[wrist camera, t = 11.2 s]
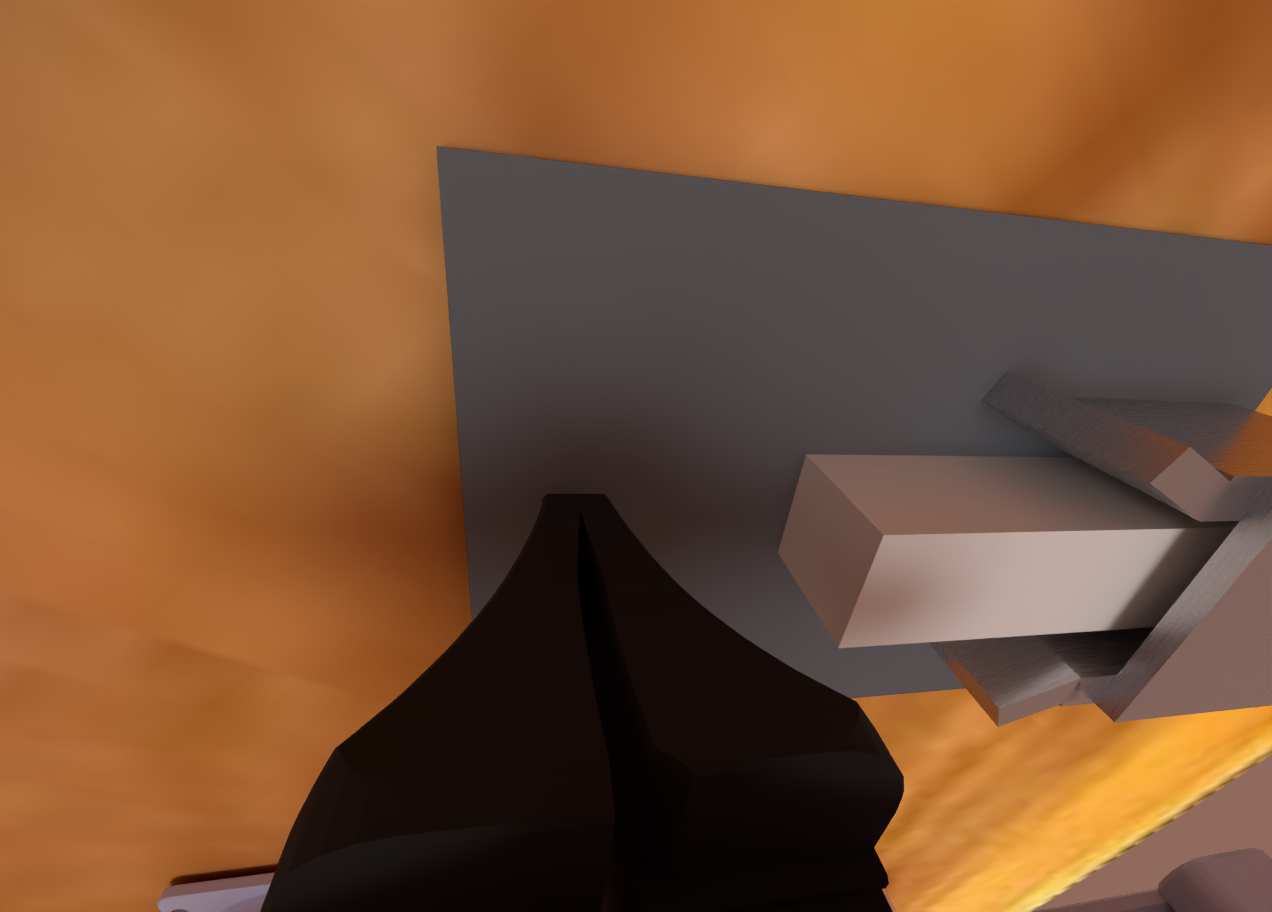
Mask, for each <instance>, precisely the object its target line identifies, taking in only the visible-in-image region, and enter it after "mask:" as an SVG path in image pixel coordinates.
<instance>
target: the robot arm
mask: <svg viewBox="0 0 1272 912" xmlns="http://www.w3.org/2000/svg"><path fill="white" fill-rule="evenodd" d="M903 792H904V776H903V775H902V773H901V771H900V770H899V768H898V766H897V765H896V763H895V761H894V760H893V758H892V756H891V755H890V753H889V751H888V749H887V748H886V746H885V744H884V742H883V741H882V739H881V737H880V736H879V734H878V732H877V730H876V729H875V727H874V726H873V725H872V723H871V722H870V720H869V719H868V717H867V716H866V715H865V713H864V712H863V710H862V709H861V707H860V706H859V704H858V703H857V702H856V701H854V700H852V699H850V698H848V697H846V696H844V695H843V694H841V693H839V692H837V691H835V690H833V689H831V688H829V687H827V686H825V685H824V684H822V683H820V682H818V681H816V680H814V679H812V678H810V677H808V676H806V675H804V674H803V673H801V672H799V671H797V670H795V669H794V668H792V667H790V666H789V665H787V664H785V663H784V662H782V661H781V660H779V659H777V658H776V657H774V656H772V655H771V654H769V653H767V652H766V651H764V650H763V649H761V648H760V647H758V646H757V645H755V644H754V643H752V642H751V641H749V640H748V639H746V638H745V637H743V636H742V635H740V634H739V633H738V632H736V631H735V630H734V629H732V628H731V627H730V626H728V625H727V624H725V623H724V622H723V621H721V620H720V619H719V618H717V617H716V616H715V615H713V614H712V613H711V612H710V611H708V610H707V609H706V608H705V607H704V606H702V605H701V604H700V603H699V602H698V601H697V600H695V599H694V598H693V597H692V596H691V595H690V594H689V593H688V592H686V591H685V590H684V589H683V588H682V587H681V586H680V585H679V584H678V583H677V582H676V581H675V580H674V579H673V578H672V577H671V576H670V575H669V574H668V573H667V572H666V571H665V570H664V569H663V568H662V567H661V565H660V564H659V563H658V562H657V561H656V560H655V559H654V558H653V557H652V555H651V554H650V553H649V552H648V551H647V549H646V548H645V547H644V546H643V545H642V543H641V542H640V541H639V540H638V539H637V537H636V536H635V535H634V533H633V532H632V531H631V530H630V528H629V527H628V526H627V524H626V523H625V521H624V520H623V519H622V517H621V516H620V514H619V513H618V512H617V510H616V509H615V507H614V506H613V504H612V503H611V501H610V499H609V498H608V497H607V496H606V495H605V494H547V495H546V496H545V497H543V498H542V505H541V509H540V512H539V515H538V518H537V520H536V522H535V525H534V527H533V529H532V531H531V533H530V535H529V537H528V539H527V541H526V543H525V545H524V547H523V549H522V551H521V553H520V554H519V556H518V558H517V559H516V561H515V563H514V564H513V566H512V567H511V569H510V571H509V572H508V574H507V576H506V577H505V579H504V580H503V582H502V583H501V585H500V586H499V587H498V589H497V590H496V592H495V593H494V595H493V596H492V597H491V599H490V600H489V601H488V602H487V604H486V605H485V606H484V608H483V609H482V610H481V612H480V613H479V614H478V615H477V616H476V618H475V619H474V620H473V621H472V622H471V623H470V625H469V626H468V627H467V628H466V629H465V630H464V632H463V633H462V634H461V635H460V636H459V637H458V639H457V640H456V641H455V642H454V643H453V644H452V645H451V646H450V647H449V648H448V649H447V650H446V651H445V652H444V653H443V654H442V655H441V656H440V657H439V658H438V659H437V660H436V661H435V662H434V663H433V664H432V665H431V666H430V667H429V668H428V669H427V670H426V671H425V672H424V673H423V674H422V675H421V676H420V677H419V678H418V679H417V680H416V681H414V682H413V683H412V684H411V685H410V686H409V687H408V688H407V689H406V690H405V691H404V692H403V693H402V694H401V695H399V696H398V697H397V698H396V699H395V700H394V701H393V702H391V703H390V704H389V705H388V706H387V707H385V708H384V709H383V710H382V711H381V712H379V713H378V714H377V715H376V716H374V717H373V718H372V719H371V720H370V721H368V722H367V723H366V724H365V725H364V726H362V727H361V728H360V729H359V730H358V731H356V732H355V733H354V734H353V735H351V736H350V737H349V738H348V739H347V740H345V741H344V742H343V743H341V744H340V745H339V746H338V747H336V748H335V750H334V751H333V753H332V755H331V756H330V758H329V759H328V761H327V763H326V765H325V766H324V768H323V770H322V772H321V773H320V775H319V777H318V778H317V780H316V782H315V784H314V786H313V788H312V790H311V792H310V793H309V795H308V797H307V799H306V801H305V803H304V805H303V807H302V809H301V811H300V812H299V814H298V817H297V819H296V821H295V823H294V825H293V827H292V829H291V831H290V834H289V836H288V839H287V842H286V844H285V847H284V849H283V852H282V855H281V857H280V860H279V863H278V865H277V868H276V871H275V872H273V873H266V874H258V875H250V876H242V877H234V878H226V879H219V880H211V881H203V882H195V883H187V884H179V885H174V886H171V887H169V888H167V889H165V891H164V892H163V894H162V895H161V897H160V899H159V901H158V903H157V905H158V908H159V910H160V911H161V912H893V911H892V909H891V907H890V905H889V903H888V901H887V899H886V897H885V895H884V892H883V890H882V889H884V888H886V887H887V885H888V884H889V882H888V876H887V873H886V871H885V869H884V867H883V865H882V863H881V861H880V859H879V857H878V855H877V853H876V851H875V849H874V847H875V845H876V843H877V842H878V840H879V839H880V837H881V835H882V834H883V832H884V831H885V829H886V827H887V826H888V824H889V822H890V821H891V819H892V818H893V816H894V814H895V813H896V811H897V808H898V806H899V804H900V801H901V799H902V796H903ZM1035 912H1272V859H1271V858H1270V857H1269V856H1268V855H1267V854H1266V853H1265V852H1264V851H1262V850H1258V849H1255V848H1248V849H1243V850H1237V851H1231V852H1226V853H1220V854H1214V855H1208V856H1203V857H1200V858H1196V859H1193V860H1191V861H1189V862H1186V863H1184V864H1182V865H1181V866H1179V867H1178V868H1176V869H1175V870H1173V871H1172V872H1171V873H1169V874H1168V875H1167V876H1166V877H1165V878H1164V879H1163V880H1162V881H1161V882H1160V883H1159V887H1158V889H1153V890H1148V891H1143V892H1137V893H1132V894H1126V895H1121V896H1115V897H1110V898H1105V899H1099V900H1094V901H1088V902H1084V903H1078V904H1072V905H1067V906H1062V907H1056V908H1051V909H1046V910H1040V911H1035Z"/></svg>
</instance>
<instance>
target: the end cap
mask: <svg viewBox="0 0 1272 912" xmlns="http://www.w3.org/2000/svg"><path fill="white" fill-rule="evenodd" d="M982 400H983V401H984V402H986V403H987V404H988V405H990V406H991V407H993V408H994V409H996V410H997V411H998V412H1000V413H1001V414H1003V415H1004V416H1005V417H1007V418H1008V419H1010V420H1011V421H1013V422H1014V423H1015V424H1017V425H1018V426H1020V427H1021V428H1022V429H1024V430H1025V431H1027V432H1028V433H1030V434H1032V435H1034V436H1036V437H1038V438H1040V439H1042V440H1044V441H1045V442H1047V443H1049V444H1051V445H1053V446H1055V447H1057V448H1059V449H1061V450H1063V451H1065V452H1067V453H1069V454H1071V455H1072V456H1074V457H1076V458H1078V459H1080V460H1082V461H1084V462H1086V463H1088V464H1090V465H1092V466H1094V467H1096V468H1098V469H1100V470H1101V471H1103V472H1105V473H1107V474H1109V475H1111V476H1113V477H1115V478H1117V479H1119V480H1121V481H1123V482H1125V483H1127V484H1128V485H1130V486H1132V487H1134V488H1136V489H1138V490H1140V491H1142V492H1144V493H1146V494H1148V495H1150V496H1152V497H1154V498H1156V499H1157V500H1159V501H1161V502H1163V503H1165V504H1167V505H1169V506H1171V507H1173V508H1175V509H1177V510H1179V511H1181V512H1183V513H1184V514H1186V515H1188V516H1190V517H1192V518H1194V519H1196V520H1198V521H1200V522H1207V521H1240V522H1239V523H1238V524H1237V526H1236V527H1235V528H1234V529H1233V531H1232V532H1231V533H1230V534H1229V536H1228V537H1227V538H1226V539H1225V541H1224V542H1223V543H1222V544H1221V546H1220V547H1219V548H1218V549H1217V551H1216V552H1215V553H1214V554H1213V556H1212V557H1211V558H1210V559H1209V561H1208V562H1207V563H1206V564H1205V566H1204V567H1203V568H1202V569H1201V571H1200V572H1199V573H1198V574H1197V576H1196V577H1195V578H1194V579H1193V581H1192V582H1191V583H1190V584H1189V586H1188V587H1187V588H1186V589H1185V591H1184V592H1183V593H1182V594H1181V596H1180V597H1179V598H1178V599H1177V601H1176V602H1175V603H1174V604H1173V606H1172V607H1171V608H1170V609H1169V611H1168V612H1167V613H1166V614H1165V616H1164V617H1163V618H1162V619H1161V621H1160V622H1159V623H1158V624H1157V626H1156V627H1148V628H1133V629H1118V630H1103V631H1089V632H1074V633H1059V634H1044V635H1029V636H1014V637H1000V638H985V639H970V640H955V641H940V642H928V643H929V645H930V646H931V647H932V648H933V649H934V651H935V652H936V653H937V654H938V655H939V657H940V658H941V659H942V660H943V661H944V663H945V664H946V665H947V666H948V667H949V669H950V670H951V671H952V672H953V673H954V675H955V676H956V677H957V678H958V679H959V681H960V682H961V683H962V684H963V685H964V687H965V688H966V689H967V690H968V691H969V693H970V694H971V695H972V696H973V697H974V699H975V700H976V701H977V702H978V703H979V705H980V706H981V707H982V708H983V709H984V711H985V712H986V713H987V714H988V715H989V717H990V718H991V719H992V720H993V721H994V723H995V724H996V725H997V726H998V727H999V726H1002V725H1004V724H1007V723H1010V722H1013V721H1015V720H1018V719H1021V718H1024V717H1026V716H1029V715H1032V714H1035V713H1037V712H1040V711H1043V710H1046V709H1048V708H1051V707H1054V706H1057V705H1060V706H1069V705H1080V704H1090V703H1095V704H1096V705H1097V706H1098V707H1099V708H1100V709H1101V710H1102V711H1103V712H1104V713H1105V714H1107V715H1108V716H1109V717H1110V718H1111V719H1112V720H1113V721H1114V722H1122V721H1131V720H1140V719H1149V718H1159V717H1168V716H1177V715H1186V714H1196V713H1205V712H1214V711H1223V710H1233V709H1242V708H1251V707H1260V706H1270V705H1272V416H1269V415H1266V414H1263V413H1259V412H1256V411H1253V410H1250V409H1247V408H1244V407H1241V406H1238V405H1235V404H1232V403H1207V402H1182V401H1157V400H1132V399H1106V398H1081V397H1067V396H1065V395H1062V394H1060V393H1058V392H1055V391H1053V390H1050V389H1048V388H1045V387H1043V386H1041V385H1038V384H1036V383H1033V382H1031V381H1028V380H1026V379H1023V378H1021V377H1019V376H1016V375H1014V374H1011V373H1009V372H1006V373H1005V374H1004V375H1003V376H1002V377H1001V378H1000V379H999V381H998V382H997V383H996V384H995V385H994V386H993V387H992V388H991V390H990V391H989V392H988V393H987V394H986V395H985V396H984V397H983V399H982Z"/></svg>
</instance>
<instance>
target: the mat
mask: <svg viewBox="0 0 1272 912" xmlns="http://www.w3.org/2000/svg"><path fill="white" fill-rule="evenodd" d="M437 159H438V173H439V186H440V199H441V213H442V226H443V239H444V252H445V266H446V279H447V292H448V306H449V319H450V332H451V346H452V359H453V372H454V386H455V399H456V412H457V426H458V439H459V452H460V465H461V479H462V492H463V505H464V519H465V532H466V545H467V559H468V572H469V585H470V599H471V612H472V621H473V620H474V619H475V618H476V616H477V615H478V614H479V613H480V612H481V610H482V609H483V608H484V606H485V605H486V604H487V602H488V601H489V600H490V599H491V597H492V596H493V595H494V593H495V592H496V590H497V589H498V587H499V586H500V585H501V583H502V582H503V580H504V579H505V577H506V576H507V574H508V572H509V571H510V569H511V567H512V566H513V564H514V563H515V561H516V559H517V558H518V556H519V554H520V553H521V551H522V549H523V547H524V545H525V543H526V541H527V539H528V537H529V535H530V533H531V531H532V529H533V527H534V525H535V522H536V520H537V518H538V515H539V512H540V509H541V505H542V498H543V497H545V496H546V495H547V494H605V495H606V496H607V497H608V498H609V499H610V501H611V503H612V504H613V506H614V507H615V509H616V510H617V512H618V513H619V514H620V516H621V517H622V519H623V520H624V521H625V523H626V524H627V526H628V527H629V528H630V530H631V531H632V532H633V533H634V535H635V536H636V537H637V539H638V540H639V541H640V542H641V543H642V545H643V546H644V547H645V548H646V549H647V551H648V552H649V553H650V554H651V555H652V557H653V558H654V559H655V560H656V561H657V562H658V563H659V564H660V565H661V567H662V568H663V569H664V570H665V571H666V572H667V573H668V574H669V575H670V576H671V577H672V578H673V579H674V580H675V581H676V582H677V583H678V584H679V585H680V586H681V587H682V588H683V589H684V590H685V591H686V592H688V593H689V594H690V595H691V596H692V597H693V598H694V599H695V600H697V601H698V602H699V603H700V604H701V605H702V606H704V607H705V608H706V609H707V610H708V611H710V612H711V613H712V614H713V615H715V616H716V617H717V618H719V619H720V620H721V621H723V622H724V623H725V624H727V625H728V626H730V627H731V628H732V629H734V630H735V631H736V632H738V633H739V634H740V635H742V636H743V637H745V638H746V639H748V640H749V641H751V642H752V643H754V644H755V645H757V646H758V647H760V648H761V649H763V650H764V651H766V652H767V653H769V654H771V655H772V656H774V657H776V658H777V659H779V660H781V661H782V662H784V663H785V664H787V665H789V666H790V667H792V668H794V669H795V670H797V671H799V672H801V673H803V674H804V675H806V676H808V677H810V678H812V679H814V680H816V681H818V682H820V683H822V684H824V685H825V686H827V687H829V688H831V689H833V690H835V691H837V692H839V693H841V694H843V695H844V696H846V697H848V698H858V697H870V696H881V695H893V694H904V693H916V692H927V691H939V690H950V689H962V688H965V687H964V685H963V684H962V683H961V682H960V681H959V679H958V678H957V677H956V676H955V675H954V673H953V672H952V671H951V670H950V669H949V667H948V666H947V665H946V664H945V663H944V661H943V660H942V659H941V658H940V657H939V655H938V654H937V653H936V652H935V651H934V649H933V648H932V647H931V646H930V645H929V643H928V642H925V643H911V644H896V645H881V646H866V647H851V648H838V647H837V646H836V644H835V643H834V641H833V639H832V638H831V636H830V635H829V633H828V631H827V630H826V628H825V627H824V625H823V623H822V622H821V620H820V619H819V617H818V615H817V614H816V612H815V611H814V609H813V608H812V606H811V604H810V603H809V601H808V600H807V598H806V596H805V595H804V593H803V592H802V590H801V588H800V587H799V585H798V584H797V582H796V581H795V579H794V577H793V576H792V574H791V573H790V571H789V569H788V568H787V566H786V565H785V563H784V561H783V560H782V558H781V557H780V555H779V553H778V551H779V547H780V544H781V540H782V537H783V533H784V530H785V526H786V523H787V519H788V516H789V512H790V509H791V505H792V502H793V498H794V495H795V491H796V488H797V484H798V481H799V477H800V474H801V470H802V467H803V463H804V460H805V456H806V454H825V455H917V456H1010V457H1074V456H1072V455H1071V454H1069V453H1067V452H1065V451H1063V450H1061V449H1059V448H1057V447H1055V446H1053V445H1051V444H1049V443H1047V442H1045V441H1044V440H1042V439H1040V438H1038V437H1036V436H1034V435H1032V434H1030V433H1028V432H1027V431H1025V430H1024V429H1022V428H1021V427H1020V426H1018V425H1017V424H1015V423H1014V422H1013V421H1011V420H1010V419H1008V418H1007V417H1005V416H1004V415H1003V414H1001V413H1000V412H998V411H997V410H996V409H994V408H993V407H991V406H990V405H988V404H987V403H986V402H984V401H983V400H982V399H983V397H984V396H985V395H986V394H987V393H988V392H989V391H990V390H991V388H992V387H993V386H994V385H995V384H996V383H997V382H998V381H999V379H1000V378H1001V377H1002V376H1003V375H1004V374H1005V373H1006V372H1009V373H1011V374H1014V375H1016V376H1019V377H1021V378H1023V379H1026V380H1028V381H1031V382H1033V383H1036V384H1038V385H1041V386H1043V387H1045V388H1048V389H1050V390H1053V391H1055V392H1058V393H1060V394H1062V395H1065V396H1067V397H1081V398H1106V399H1132V400H1157V401H1182V402H1207V403H1232V404H1235V405H1238V406H1241V407H1244V408H1247V409H1250V410H1253V411H1255V410H1256V409H1257V407H1258V406H1259V404H1260V403H1261V402H1262V400H1263V399H1264V398H1265V396H1266V395H1267V393H1268V392H1269V391H1270V389H1271V388H1272V245H1264V244H1256V243H1247V242H1239V241H1231V240H1222V239H1214V238H1205V237H1197V236H1188V235H1180V234H1172V233H1163V232H1155V231H1146V230H1138V229H1129V228H1121V227H1113V226H1104V225H1096V224H1087V223H1079V222H1070V221H1062V220H1054V219H1045V218H1037V217H1028V216H1020V215H1011V214H1003V213H994V212H986V211H978V210H969V209H961V208H952V207H944V206H935V205H927V204H919V203H910V202H902V201H893V200H885V199H876V198H868V197H860V196H851V195H843V194H834V193H826V192H817V191H809V190H801V189H792V188H784V187H775V186H767V185H758V184H750V183H742V182H733V181H725V180H716V179H708V178H699V177H691V176H683V175H674V174H666V173H657V172H649V171H640V170H632V169H624V168H615V167H607V166H598V165H590V164H581V163H573V162H564V161H556V160H548V159H539V158H531V157H522V156H514V155H505V154H497V153H489V152H480V151H472V150H463V149H455V148H446V147H438V146H437Z"/></svg>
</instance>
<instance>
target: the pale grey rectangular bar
mask: <svg viewBox="0 0 1272 912" xmlns="http://www.w3.org/2000/svg"><path fill="white" fill-rule="evenodd" d="M1239 522H1240V521H1207V522H1200V521H1198V520H1196V519H1194V518H1192V517H1190V516H1188V515H1186V514H1184V513H1183V512H1181V511H1179V510H1177V509H1175V508H1173V507H1171V506H1169V505H1167V504H1165V503H1163V502H1161V501H1159V500H1157V499H1156V498H1154V497H1152V496H1150V495H1148V494H1146V493H1144V492H1142V491H1140V490H1138V489H1136V488H1134V487H1132V486H1130V485H1128V484H1127V483H1125V482H1123V481H1121V480H1119V479H1117V478H1115V477H1113V476H1111V475H1109V474H1107V473H1105V472H1103V471H1101V470H1100V469H1098V468H1096V467H1094V466H1092V465H1090V464H1088V463H1086V462H1084V461H1082V460H1080V459H1078V458H1076V457H1010V456H917V455H825V454H806V456H805V460H804V463H803V467H802V470H801V474H800V477H799V481H798V484H797V488H796V491H795V495H794V498H793V502H792V505H791V509H790V512H789V516H788V519H787V523H786V526H785V530H784V533H783V537H782V540H781V544H780V547H779V551H778V553H779V555H780V557H781V558H782V560H783V561H784V563H785V565H786V566H787V568H788V569H789V571H790V573H791V574H792V576H793V577H794V579H795V581H796V582H797V584H798V585H799V587H800V588H801V590H802V592H803V593H804V595H805V596H806V598H807V600H808V601H809V603H810V604H811V606H812V608H813V609H814V611H815V612H816V614H817V615H818V617H819V619H820V620H821V622H822V623H823V625H824V627H825V628H826V630H827V631H828V633H829V635H830V636H831V638H832V639H833V641H834V643H835V644H836V646H837V647H838V648H851V647H866V646H881V645H896V644H911V643H925V642H940V641H955V640H970V639H985V638H1000V637H1014V636H1029V635H1044V634H1059V633H1074V632H1089V631H1103V630H1118V629H1133V628H1148V627H1156V626H1157V624H1158V623H1159V622H1160V621H1161V619H1162V618H1163V617H1164V616H1165V614H1166V613H1167V612H1168V611H1169V609H1170V608H1171V607H1172V606H1173V604H1174V603H1175V602H1176V601H1177V599H1178V598H1179V597H1180V596H1181V594H1182V593H1183V592H1184V591H1185V589H1186V588H1187V587H1188V586H1189V584H1190V583H1191V582H1192V581H1193V579H1194V578H1195V577H1196V576H1197V574H1198V573H1199V572H1200V571H1201V569H1202V568H1203V567H1204V566H1205V564H1206V563H1207V562H1208V561H1209V559H1210V558H1211V557H1212V556H1213V554H1214V553H1215V552H1216V551H1217V549H1218V548H1219V547H1220V546H1221V544H1222V543H1223V542H1224V541H1225V539H1226V538H1227V537H1228V536H1229V534H1230V533H1231V532H1232V531H1233V529H1234V528H1235V527H1236V526H1237V524H1238V523H1239Z"/></svg>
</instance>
